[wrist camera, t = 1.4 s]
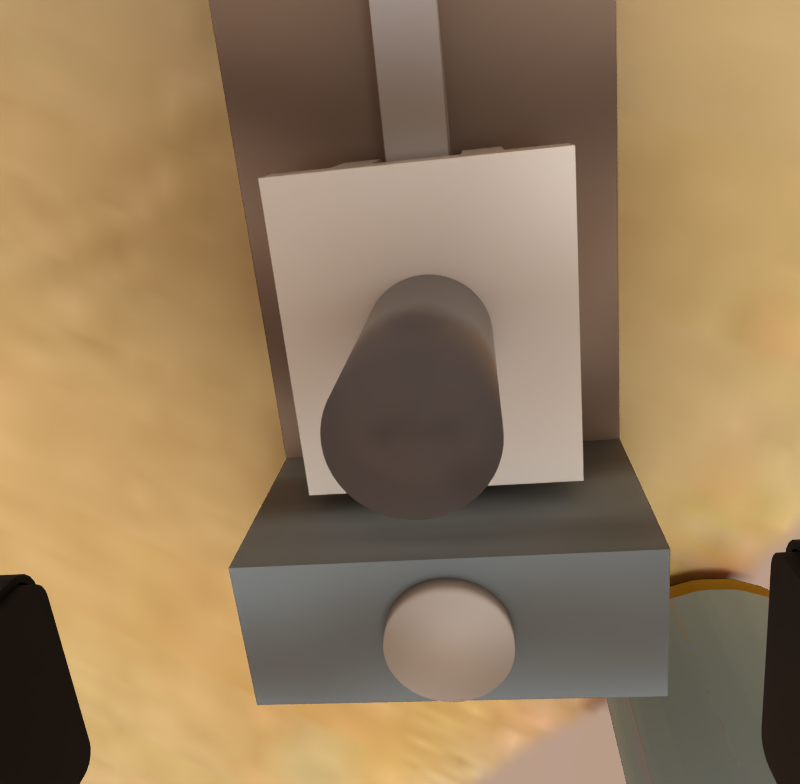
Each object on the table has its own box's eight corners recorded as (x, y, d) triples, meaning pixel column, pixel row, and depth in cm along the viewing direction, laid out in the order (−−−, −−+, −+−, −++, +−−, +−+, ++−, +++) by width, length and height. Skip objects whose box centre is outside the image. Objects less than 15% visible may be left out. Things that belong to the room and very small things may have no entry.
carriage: (289, 168, 20) (154, 210, 11) (558, 140, 19) (631, 161, 11) (330, 445, 23) (245, 647, 14) (567, 430, 22) (632, 635, 13)
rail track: (133, -559, 17) (-146, -1119, 9) (597, -664, 16) (720, -1403, 8) (314, 545, 26) (250, 722, 18) (611, 532, 25) (674, 714, 17)
